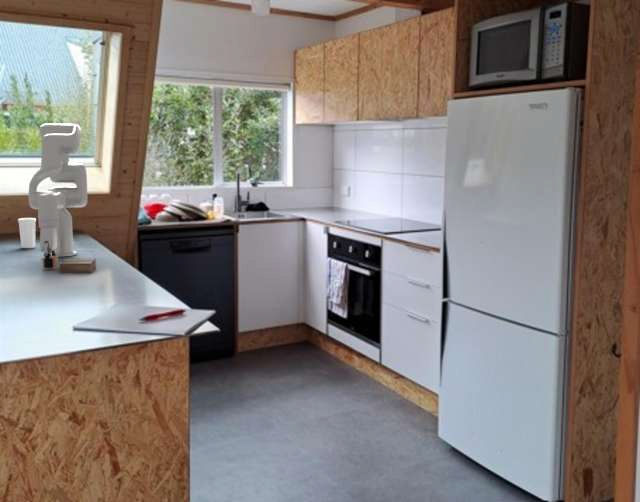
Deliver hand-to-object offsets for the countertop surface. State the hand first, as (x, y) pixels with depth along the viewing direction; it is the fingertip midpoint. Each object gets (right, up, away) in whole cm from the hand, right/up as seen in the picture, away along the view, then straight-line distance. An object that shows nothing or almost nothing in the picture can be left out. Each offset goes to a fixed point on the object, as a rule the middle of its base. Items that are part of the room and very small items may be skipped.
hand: (50, 265), depth 276 cm
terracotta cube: (0, -1, 0) cm, 1 cm away
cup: (-30, +8, +47) cm, 56 cm away
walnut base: (+13, -2, -3) cm, 13 cm away
